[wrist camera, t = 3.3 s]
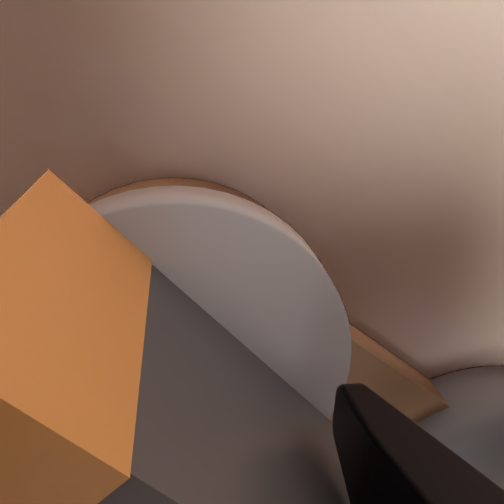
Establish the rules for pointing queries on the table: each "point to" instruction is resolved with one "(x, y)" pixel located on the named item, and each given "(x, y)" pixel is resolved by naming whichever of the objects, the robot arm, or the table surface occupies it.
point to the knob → (165, 352)
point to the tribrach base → (416, 383)
